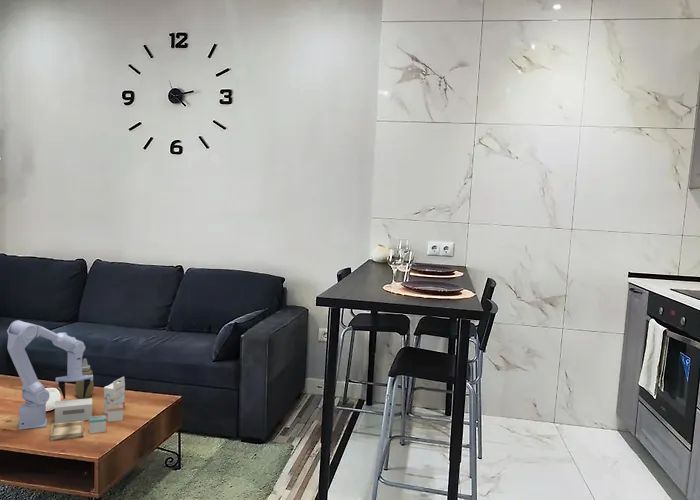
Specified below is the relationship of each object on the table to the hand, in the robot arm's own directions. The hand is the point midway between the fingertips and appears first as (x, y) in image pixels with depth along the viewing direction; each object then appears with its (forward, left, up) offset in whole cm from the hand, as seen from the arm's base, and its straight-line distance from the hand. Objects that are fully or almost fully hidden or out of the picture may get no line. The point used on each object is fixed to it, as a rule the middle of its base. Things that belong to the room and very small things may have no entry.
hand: (74, 397), depth 244 cm
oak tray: (-2, -22, -6) cm, 23 cm away
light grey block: (+16, -13, -6) cm, 22 cm away
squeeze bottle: (+4, +18, -7) cm, 20 cm away
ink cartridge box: (+16, -3, -7) cm, 18 cm away
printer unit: (0, -8, -6) cm, 10 cm away
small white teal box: (+9, -23, -6) cm, 26 cm away
